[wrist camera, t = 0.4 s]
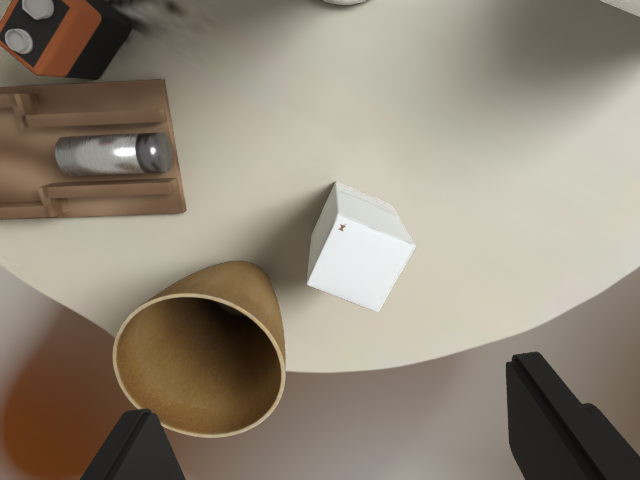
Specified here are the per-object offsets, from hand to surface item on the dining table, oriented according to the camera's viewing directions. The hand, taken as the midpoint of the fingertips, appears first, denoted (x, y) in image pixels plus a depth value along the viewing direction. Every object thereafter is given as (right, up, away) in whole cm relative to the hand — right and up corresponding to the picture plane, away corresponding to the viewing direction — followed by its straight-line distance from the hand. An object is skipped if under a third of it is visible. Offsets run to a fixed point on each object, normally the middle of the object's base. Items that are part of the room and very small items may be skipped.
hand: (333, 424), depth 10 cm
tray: (-29, +14, +33) cm, 46 cm away
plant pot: (-10, -1, +38) cm, 39 cm away
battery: (-23, +25, +29) cm, 44 cm away
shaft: (-21, +14, +31) cm, 40 cm away
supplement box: (+3, +7, +35) cm, 35 cm away
